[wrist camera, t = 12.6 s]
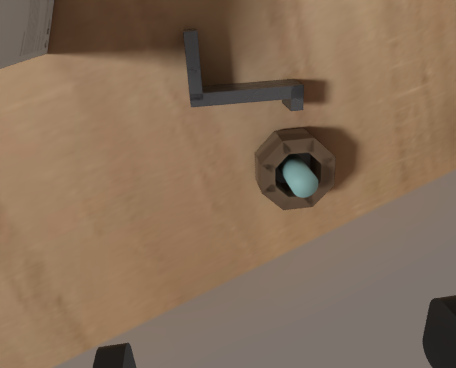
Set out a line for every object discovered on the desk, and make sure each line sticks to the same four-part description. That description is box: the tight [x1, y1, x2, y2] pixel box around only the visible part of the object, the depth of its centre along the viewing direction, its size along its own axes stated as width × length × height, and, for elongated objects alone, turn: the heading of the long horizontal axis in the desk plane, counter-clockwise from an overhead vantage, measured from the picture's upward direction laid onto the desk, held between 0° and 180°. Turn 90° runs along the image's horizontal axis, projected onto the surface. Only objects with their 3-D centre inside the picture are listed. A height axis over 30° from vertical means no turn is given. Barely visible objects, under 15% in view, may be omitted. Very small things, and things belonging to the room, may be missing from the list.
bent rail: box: [183, 29, 304, 111], centre depth 31 cm, size 6×9×3 cm
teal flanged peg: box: [275, 152, 318, 198], centre depth 34 cm, size 5×5×6 cm
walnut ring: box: [255, 128, 335, 210], centre depth 34 cm, size 6×6×3 cm
